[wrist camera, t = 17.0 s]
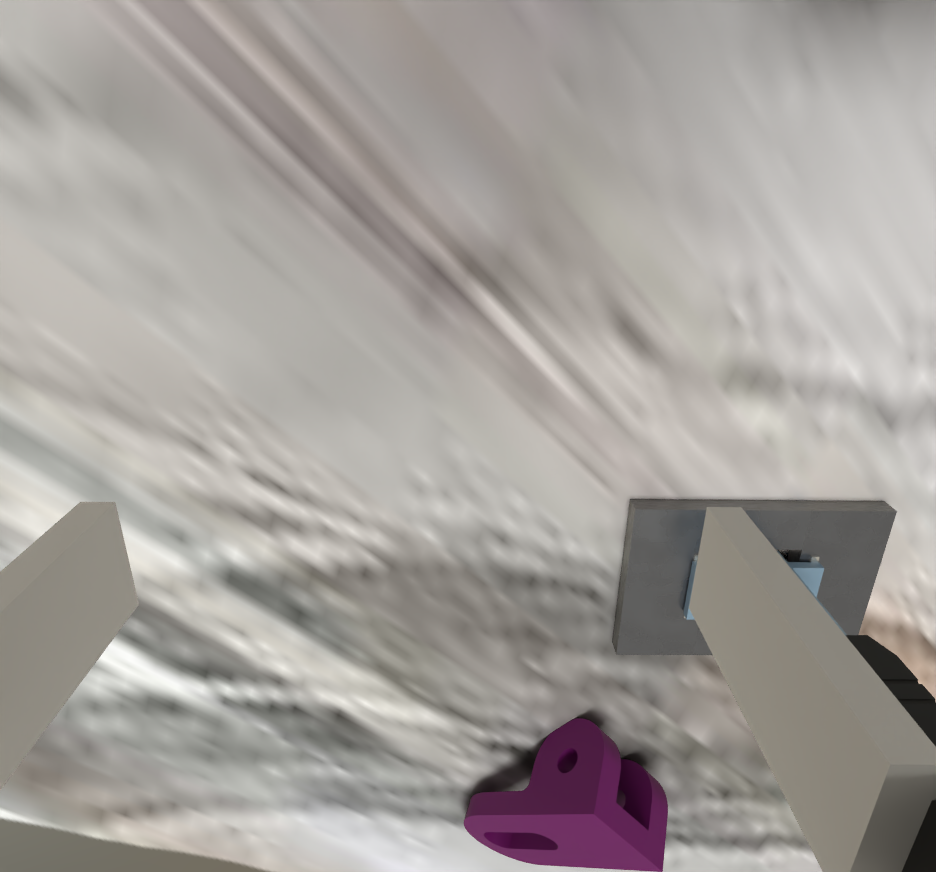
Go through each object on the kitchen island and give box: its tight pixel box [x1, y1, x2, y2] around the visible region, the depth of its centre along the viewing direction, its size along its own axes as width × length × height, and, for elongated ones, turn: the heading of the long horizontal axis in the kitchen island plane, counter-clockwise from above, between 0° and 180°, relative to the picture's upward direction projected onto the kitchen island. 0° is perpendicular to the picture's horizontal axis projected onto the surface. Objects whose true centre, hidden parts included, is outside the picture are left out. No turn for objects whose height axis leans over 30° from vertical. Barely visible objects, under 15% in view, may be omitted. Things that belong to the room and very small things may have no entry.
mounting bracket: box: [464, 718, 668, 872], centre depth 60 cm, size 10×8×18 cm
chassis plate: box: [612, 499, 897, 655], centre depth 52 cm, size 20×14×2 cm
